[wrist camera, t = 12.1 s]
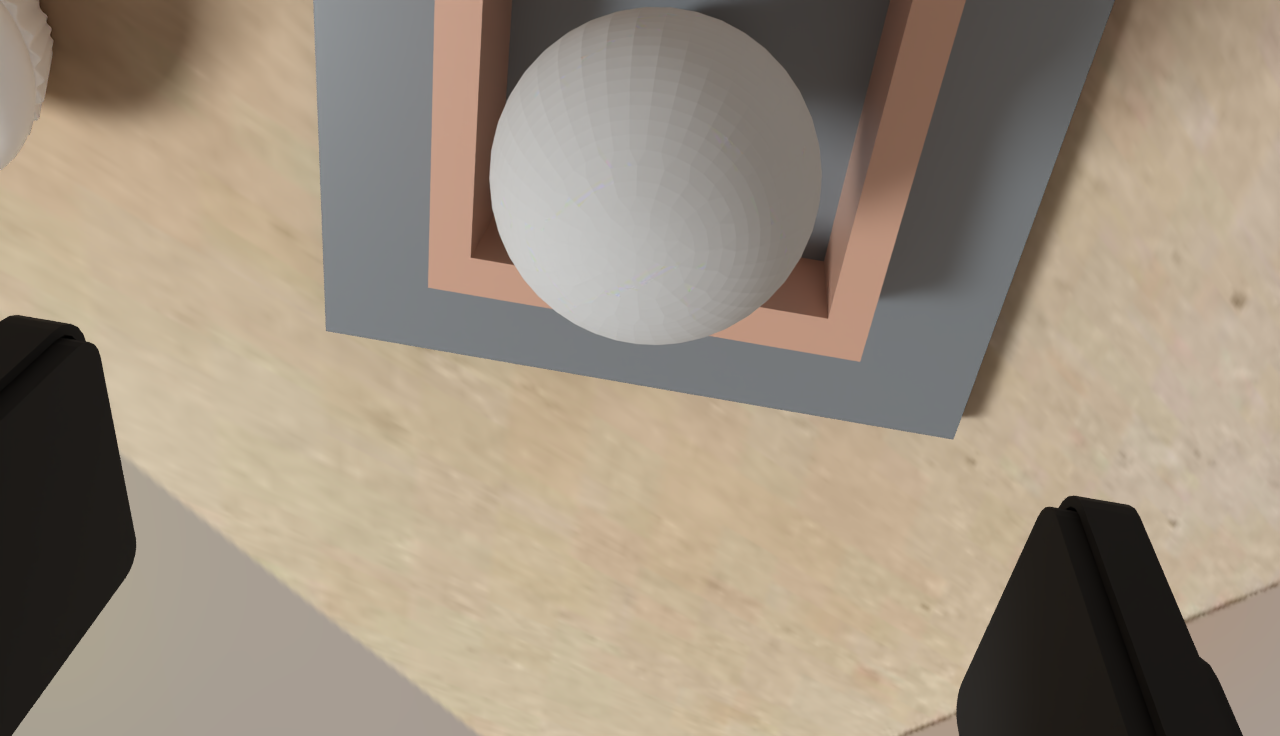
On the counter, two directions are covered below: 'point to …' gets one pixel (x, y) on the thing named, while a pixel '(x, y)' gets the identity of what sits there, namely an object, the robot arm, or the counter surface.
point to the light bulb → (655, 175)
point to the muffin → (21, 72)
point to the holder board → (845, 222)
